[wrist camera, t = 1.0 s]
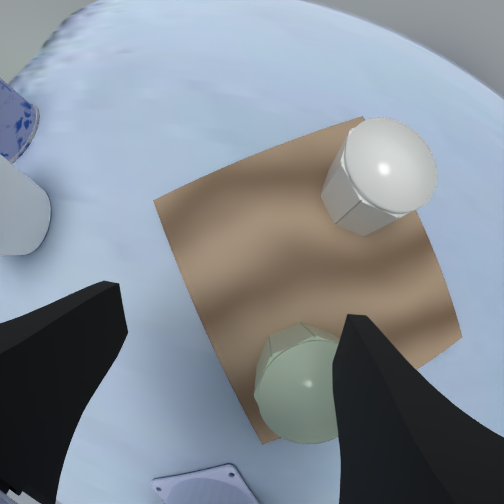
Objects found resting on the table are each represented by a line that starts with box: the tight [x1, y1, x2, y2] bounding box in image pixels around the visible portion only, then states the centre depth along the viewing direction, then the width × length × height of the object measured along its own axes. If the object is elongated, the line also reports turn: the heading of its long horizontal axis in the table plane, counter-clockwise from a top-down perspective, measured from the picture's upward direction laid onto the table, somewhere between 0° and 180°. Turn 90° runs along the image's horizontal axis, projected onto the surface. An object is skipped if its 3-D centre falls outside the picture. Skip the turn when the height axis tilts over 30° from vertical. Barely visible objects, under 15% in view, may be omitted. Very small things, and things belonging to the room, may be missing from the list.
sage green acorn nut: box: [254, 322, 340, 444], centre depth 16 cm, size 6×6×7 cm
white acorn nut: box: [321, 117, 437, 236], centre depth 17 cm, size 6×6×7 cm
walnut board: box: [153, 116, 462, 444], centre depth 20 cm, size 20×18×1 cm
